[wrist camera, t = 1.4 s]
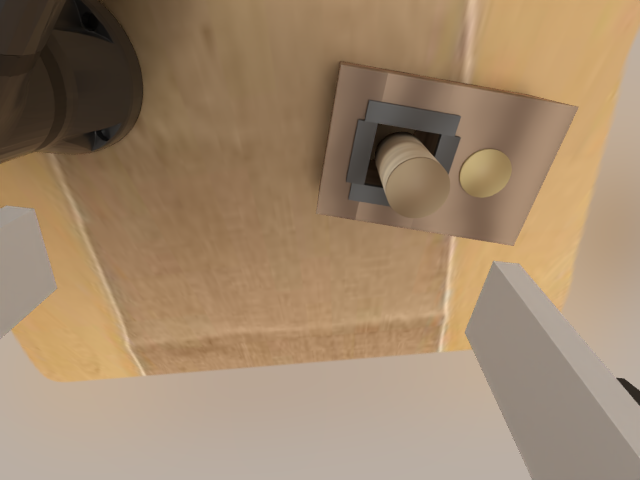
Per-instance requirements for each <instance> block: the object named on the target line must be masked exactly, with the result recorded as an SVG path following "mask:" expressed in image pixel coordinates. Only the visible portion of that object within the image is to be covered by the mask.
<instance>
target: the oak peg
mask: <svg viewBox="0 0 640 480" xmlns="http://www.w3.org/2000/svg"><path fill="white" fill-rule="evenodd" d="M375 163H376V167H377V170H378V173H379V176H380V179H381V182H382V185H383V188H384V191H385V194H386V197H387V200H388V203H389V205H390V206H391V208H392V209H393V210H394V211H395V212H397V213H398V214H400V215H402V216H404V217H408V218H422V217H426V216H429V215H431V214H433V213H434V212H436V211H437V210H438V209H439V208H440V207H441V206H442V205H443V204H444V203H445V201H446V199H447V197H448V195H449V192H450V179H449V175H448V173H447V171H446V170H445V169H444V167H443V166H442V165H441V164H440V163H439V162H438V161H437V160H436V158H435V157H434V156H433V155H432V154H431V153H430V152H429V151H428V149H427V148H426V147H425V146H424V145H423V144H422V143H421V142H420V140H419V139H418V138H417V137H415V136H414V135H412V134H410V133H407V132H395V133H392V134H390V135H388V136H386V137H385V138H384V139H383V140H382V141H381V142H380V143H379V145H378V147H377V149H376V152H375Z"/></svg>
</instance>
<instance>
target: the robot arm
mask: <svg viewBox="0 0 640 480" xmlns="http://www.w3.org/2000/svg"><path fill="white" fill-rule="evenodd" d="M142 94H143V87H142V77H141V71H140V67H139V63H138V60H137V57H136V54H135V51H134V49H133V47H132V45H131V43H130V41H129V39H128V37H127V35H126V34H125V32H124V30H123V29H122V27H121V26H120V24H119V23H118V22H117V20H116V19H115V18H114V17H113V15H112V14H111V13H110V12H109V11H108V10H107V9H106V8H105V7H104V6H103V5H102V4H101V3H100V2H99V1H98V0H0V164H1V163H3V162H6V161H9V160H12V159H15V158H18V157H21V156H23V155H26V154H29V153H32V152H44V153H57V154H72V155H76V154H86V153H91V152H95V151H98V150H101V149H103V148H105V147H108V146H110V145H112V144H114V143H116V142H118V141H119V140H121V139H122V138H123V137H124V136H125V135H126V134H127V133H128V132H129V131H130V130H131V128H132V127H133V125H134V124H135V122H136V120H137V118H138V115H139V112H140V108H141V104H142ZM56 289H57V286H56V282H55V279H54V275H53V272H52V268H51V265H50V261H49V258H48V255H47V251H46V248H45V244H44V241H43V237H42V234H41V230H40V227H39V223H38V220H37V216H36V213H35V209H32V208H23V207H15V206H5V207H3V208H1V209H0V339H1V338H2V337H3V336H4V335H5V334H7V333H8V332H9V331H10V330H11V329H12V328H13V327H14V326H16V325H17V324H18V323H19V322H20V321H21V320H22V319H23V318H25V317H26V316H27V315H28V314H29V313H30V312H31V311H32V310H33V309H35V308H36V307H37V306H38V305H39V304H40V303H41V302H42V301H44V300H45V299H46V298H47V297H48V296H49V295H50V294H51V293H53V292H54V291H55V290H56ZM465 334H466V336H467V338H468V340H469V343H470V345H471V347H472V349H473V351H474V353H475V356H476V358H477V360H478V362H479V364H480V367H481V368H482V371H483V373H484V375H485V377H486V380H487V382H488V384H489V386H490V388H491V391H492V392H493V395H494V397H495V399H496V401H497V404H498V406H499V408H500V410H501V412H502V415H503V417H504V419H505V421H506V423H507V426H508V428H509V430H510V432H511V434H512V436H513V438H514V441H515V443H516V445H517V447H518V450H519V452H520V454H521V456H522V458H523V460H524V462H525V465H526V467H527V469H528V471H529V473H530V475H531V478H532V480H640V391H639V390H638V389H637V388H635V387H634V386H633V385H632V384H630V383H629V382H628V381H626V380H625V379H622V378H615V376H614V375H613V374H612V373H611V372H610V370H609V369H608V368H607V367H606V366H605V364H604V363H603V362H602V361H601V360H600V359H599V357H598V356H597V355H596V354H595V353H594V352H593V350H592V349H591V348H590V347H589V346H588V344H587V343H586V342H585V341H584V340H583V339H582V337H581V336H580V335H579V334H578V333H577V332H576V330H575V329H574V328H573V327H572V325H571V324H570V323H569V322H568V321H567V320H566V319H565V317H564V316H563V315H562V314H561V313H560V311H559V310H558V309H557V308H556V307H555V305H554V304H553V303H552V302H551V301H550V300H549V298H548V297H547V296H546V295H545V294H544V292H543V291H542V290H541V289H540V288H539V287H538V285H537V284H536V283H535V282H534V281H533V279H532V278H531V277H530V276H529V275H528V274H527V272H526V271H525V270H524V269H523V268H522V266H521V265H520V264H517V263H508V262H499V261H493V263H492V266H491V268H490V271H489V273H488V276H487V278H486V281H485V283H484V286H483V288H482V291H481V293H480V295H479V298H478V300H477V303H476V305H475V308H474V310H473V313H472V315H471V318H470V320H469V323H468V325H467V328H466V330H465Z"/></svg>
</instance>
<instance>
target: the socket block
mask: <svg viewBox="0 0 640 480" xmlns="http://www.w3.org/2000/svg"><path fill="white" fill-rule="evenodd" d="M577 110H578V107H576V106H572V105H568V104H564V103H560V102H556V101H552V100H548V99H544V98H539V97H535V96H531V95H527V94H521V93H515V92H510V91H504V90H499V89H493V88H487V87H482V86H476V85H471V84H465V83H459V82H454V81H448V80H443V79H437V78H432V77H426V76H420V75H415V74H409V73H404V72H398V71H392V70H387V69H381V68H376V67H370V66H364V65H359V64H353V63H348V62H342V61H340V66H339V72H338V78H337V85H336V91H335V97H334V103H333V109H332V115H331V121H330V127H329V133H328V139H327V145H326V151H325V157H324V163H323V169H322V175H321V181H320V188H319V195H318V203H317V211H316V214H322V215H328V216H334V217H340V218H346V219H352V220H358V221H364V222H371V223H377V224H383V225H389V226H395V227H401V228H407V229H413V230H420V231H426V232H432V233H438V234H444V235H450V236H456V237H462V238H469V239H475V240H481V241H487V242H493V243H499V244H505V245H511V246H514V244H515V242H516V239H517V237H518V235H519V233H520V231H521V229H522V227H523V225H524V222H525V220H526V218H527V216H528V214H529V212H530V210H531V207H532V205H533V203H534V201H535V199H536V197H537V195H538V193H539V190H540V188H541V186H542V184H543V182H544V180H545V178H546V176H547V173H548V171H549V169H550V167H551V165H552V163H553V161H554V159H555V156H556V154H557V152H558V150H559V148H560V146H561V144H562V141H563V139H564V137H565V135H566V133H567V131H568V129H569V127H570V124H571V122H572V120H573V118H574V116H575V114H576V112H577ZM378 123H379V124H385V125H391V126H396V127H402V128H408V129H414V130H416V131H415V134H414V136H415V137H417V138H418V139H419V140H420V142H421V143H422V144H423V145H424V146H425V147H426V148H427V149H428V151H429V152H430V153H431V154H432V155H433V156H434V157H435V158H436V160H437V161H438V162H439V163H440V164H441V165H442V166H443V167H444V169H445V170H446V171H447V173H448V175H449V179H450V192H449V195H448V197H447V199H446V201H445V203H444V204H443V205H442V206H441V207H440V208H439V209H438V210H437V211H436V212H434V213H433V214H431V215H429V216H426V217H422V218H408V217H404V216H402V215H400V214H398V213H397V212H395V211H394V210H393V209H392V208H391V206H390V205H389V203H388V200H387V197H386V194H385V191H384V188H383V185H382V182H381V179H380V176H379V173H378V170H377V167H376V163H375V160H371V159H370V156H371V152H372V147H373V143H374V139H375V134H376V130H377V125H378Z"/></svg>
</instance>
